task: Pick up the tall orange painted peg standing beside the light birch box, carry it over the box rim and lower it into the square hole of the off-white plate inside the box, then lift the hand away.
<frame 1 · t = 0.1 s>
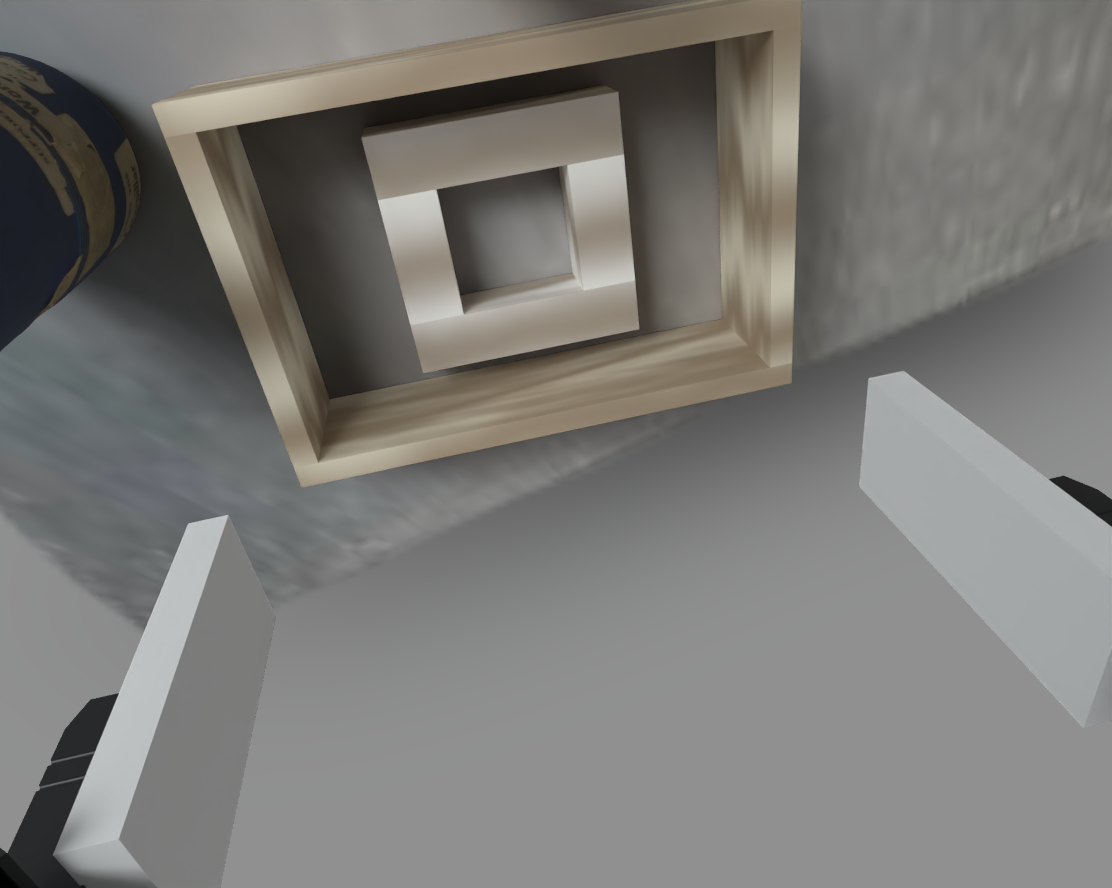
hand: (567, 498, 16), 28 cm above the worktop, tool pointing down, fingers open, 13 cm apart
canister: (39, 161, 35), on the worktop
open box: (506, 227, 40), on the worktop
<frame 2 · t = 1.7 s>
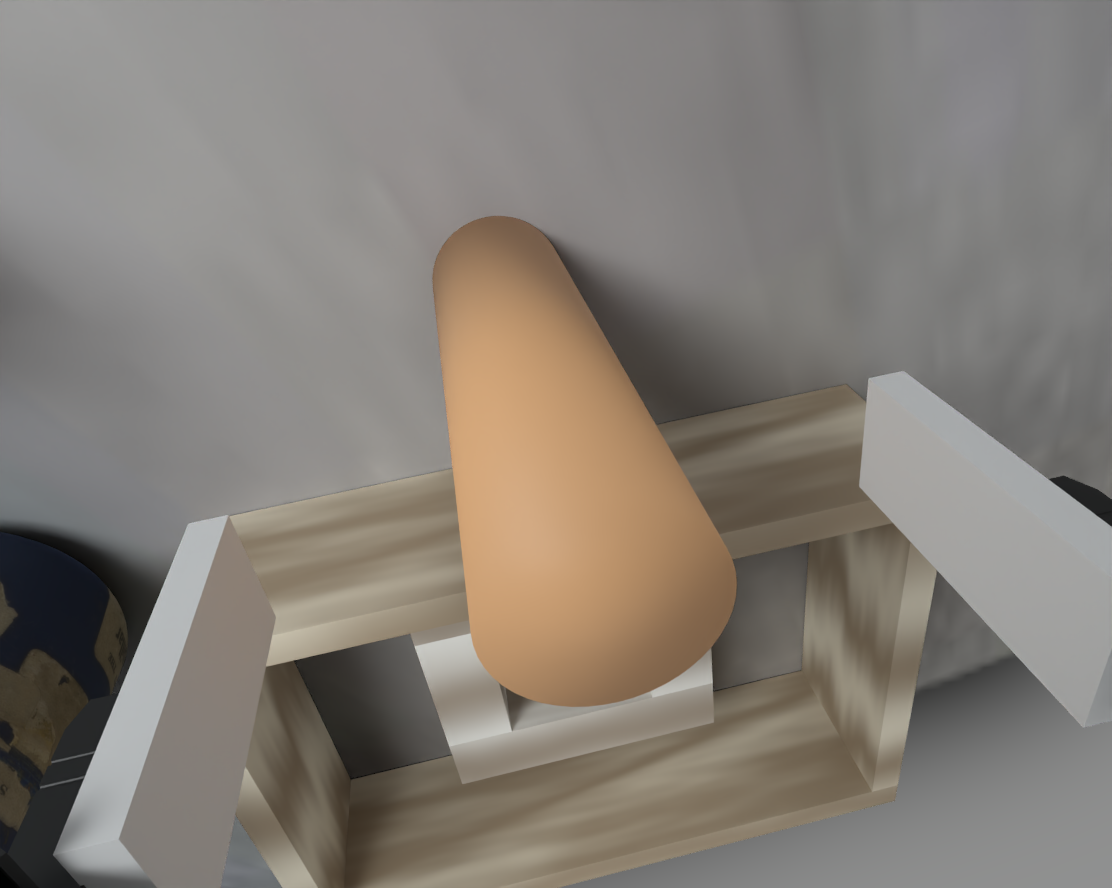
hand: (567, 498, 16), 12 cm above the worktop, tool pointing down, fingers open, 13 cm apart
canister: (5, 605, 29), on the worktop
open box: (560, 615, 34), on the worktop
peg: (498, 281, 26), on the worktop
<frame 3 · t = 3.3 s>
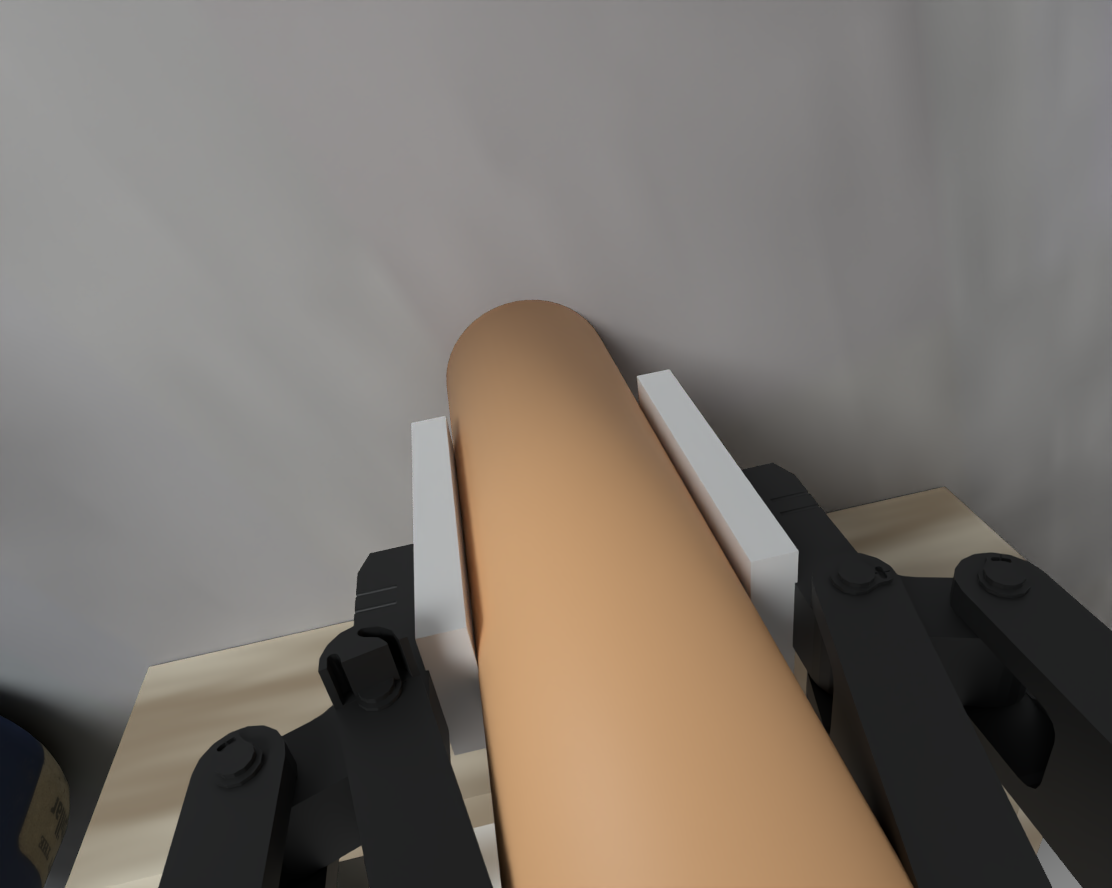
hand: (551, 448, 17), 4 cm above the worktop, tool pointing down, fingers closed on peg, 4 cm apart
open box: (594, 749, 29), on the worktop
peg: (528, 378, 20), on the worktop, touching gripper
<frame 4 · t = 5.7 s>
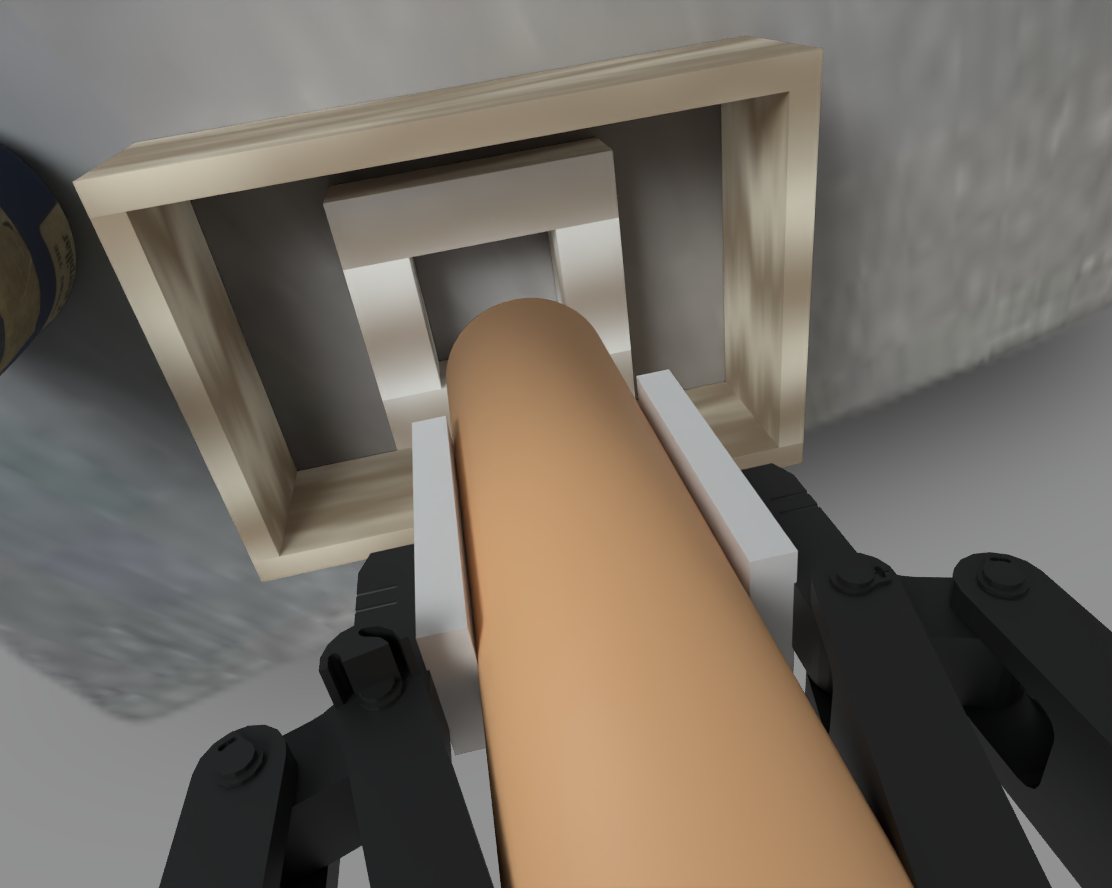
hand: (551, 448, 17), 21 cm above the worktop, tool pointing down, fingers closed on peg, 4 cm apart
open box: (489, 289, 37), on the worktop
peg: (527, 375, 20), point 17 cm above the worktop, touching gripper
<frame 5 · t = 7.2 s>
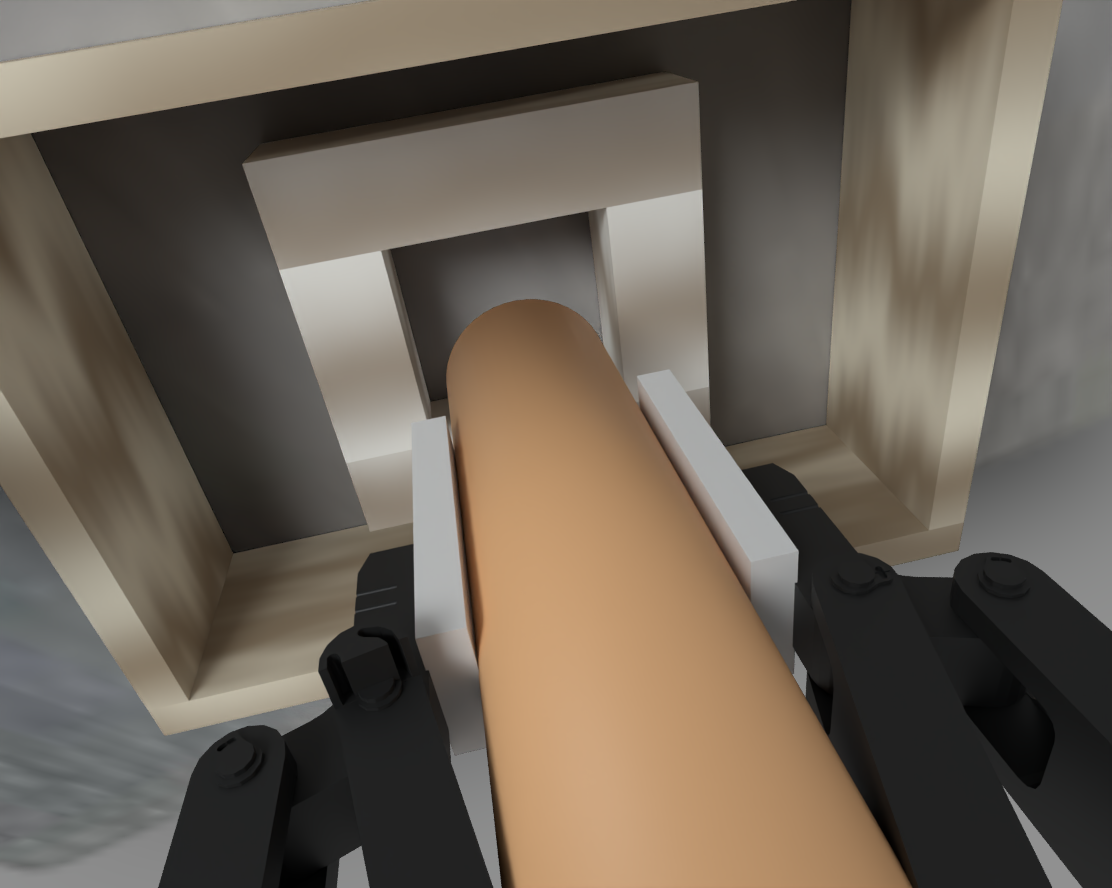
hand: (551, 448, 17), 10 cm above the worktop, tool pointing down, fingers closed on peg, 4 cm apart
open box: (503, 299, 25), on the worktop
peg: (527, 376, 21), point 6 cm above the worktop, touching gripper
when the fingers open (5 cm above the worktop, at t = 8.5 s): peg stays where it is, resting in open box.
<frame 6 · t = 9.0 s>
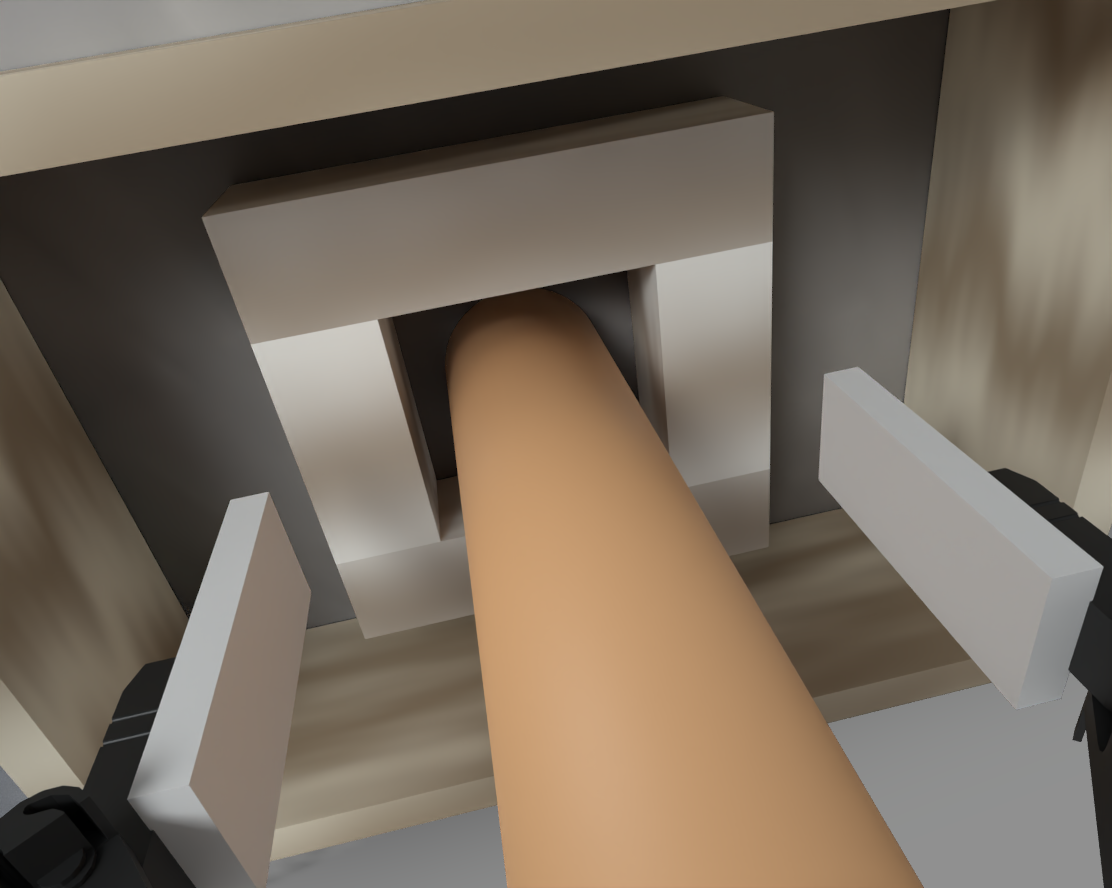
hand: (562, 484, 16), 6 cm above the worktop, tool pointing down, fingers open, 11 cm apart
open box: (523, 363, 21), on the worktop
peg: (523, 363, 21), resting in open box
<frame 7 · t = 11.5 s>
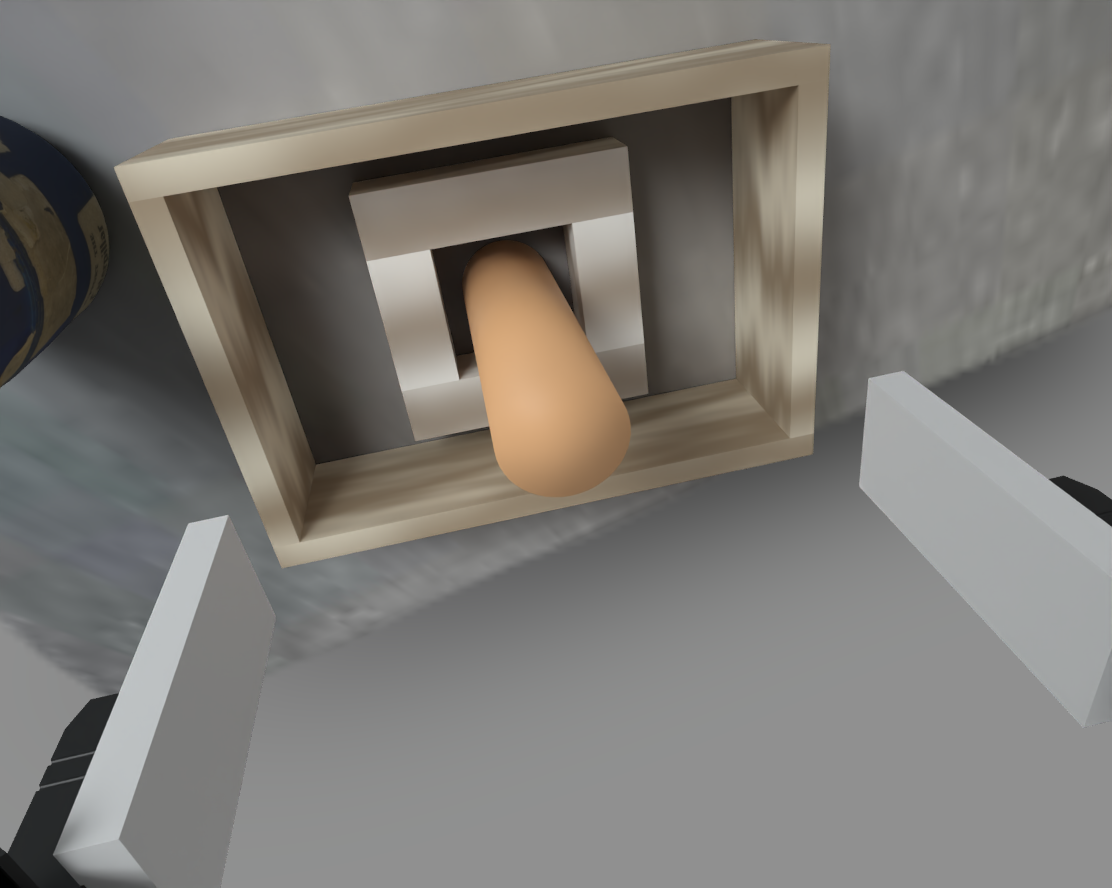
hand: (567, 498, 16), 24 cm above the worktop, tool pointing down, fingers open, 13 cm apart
canister: (0, 219, 33), on the worktop
open box: (506, 284, 38), on the worktop
peg: (506, 284, 38), resting in open box
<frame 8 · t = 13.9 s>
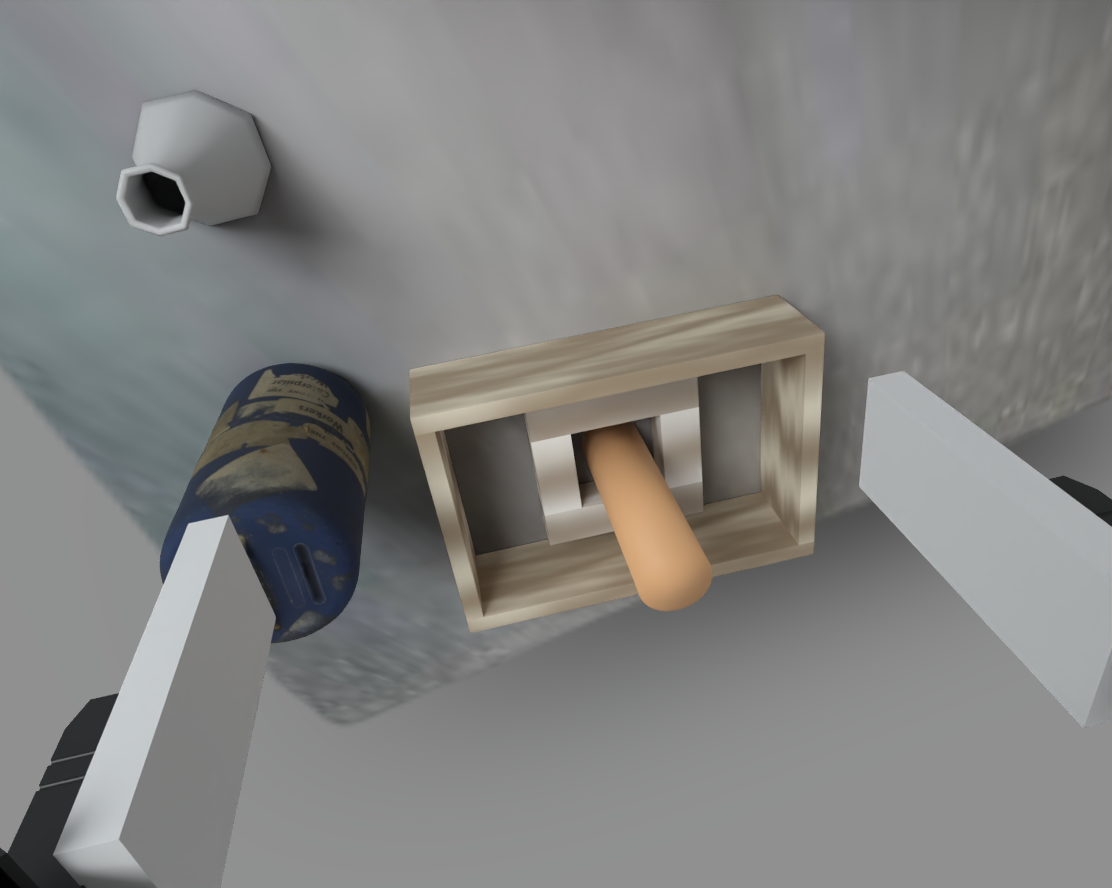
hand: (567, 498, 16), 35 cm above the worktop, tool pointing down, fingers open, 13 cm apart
canister: (300, 417, 51), on the worktop
open box: (610, 441, 57), on the worktop
flask: (204, 159, 43), on the worktop
peg: (610, 441, 57), resting in open box
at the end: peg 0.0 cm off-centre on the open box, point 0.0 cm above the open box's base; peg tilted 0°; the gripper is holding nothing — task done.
